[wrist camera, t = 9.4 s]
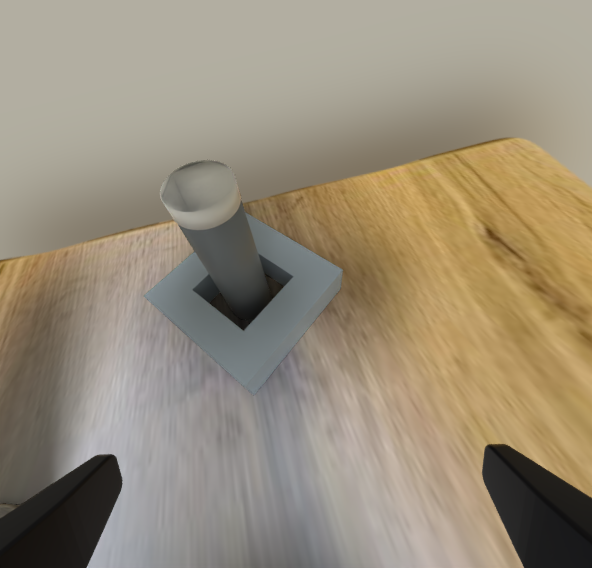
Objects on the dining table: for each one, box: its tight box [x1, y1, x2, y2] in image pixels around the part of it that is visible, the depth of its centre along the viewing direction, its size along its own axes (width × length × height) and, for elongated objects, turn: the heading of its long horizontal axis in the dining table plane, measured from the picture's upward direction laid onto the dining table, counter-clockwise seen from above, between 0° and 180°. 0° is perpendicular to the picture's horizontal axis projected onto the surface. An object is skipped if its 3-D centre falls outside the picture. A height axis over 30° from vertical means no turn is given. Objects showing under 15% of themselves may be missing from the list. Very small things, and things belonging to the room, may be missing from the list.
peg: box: [160, 160, 272, 320], centre depth 19 cm, size 4×4×12 cm
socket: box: [144, 212, 343, 395], centre depth 24 cm, size 11×11×3 cm
